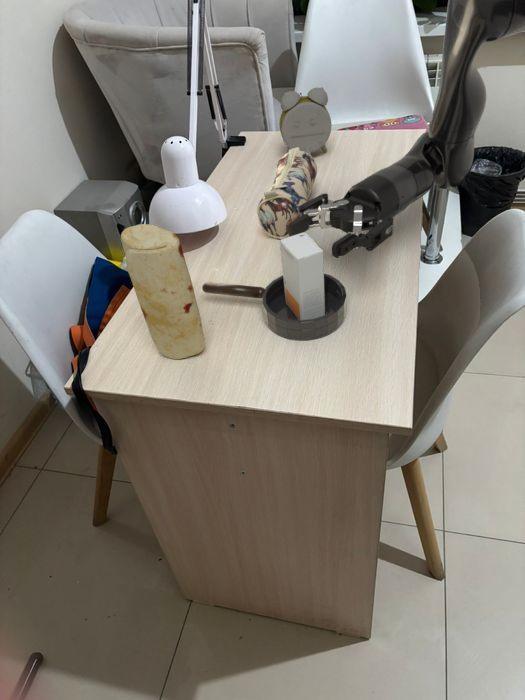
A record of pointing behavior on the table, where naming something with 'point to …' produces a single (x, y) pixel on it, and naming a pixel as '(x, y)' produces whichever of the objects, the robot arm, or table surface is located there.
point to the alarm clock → (305, 120)
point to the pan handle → (233, 290)
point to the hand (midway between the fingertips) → (311, 241)
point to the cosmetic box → (303, 276)
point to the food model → (164, 289)
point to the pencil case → (287, 193)
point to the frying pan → (302, 330)
